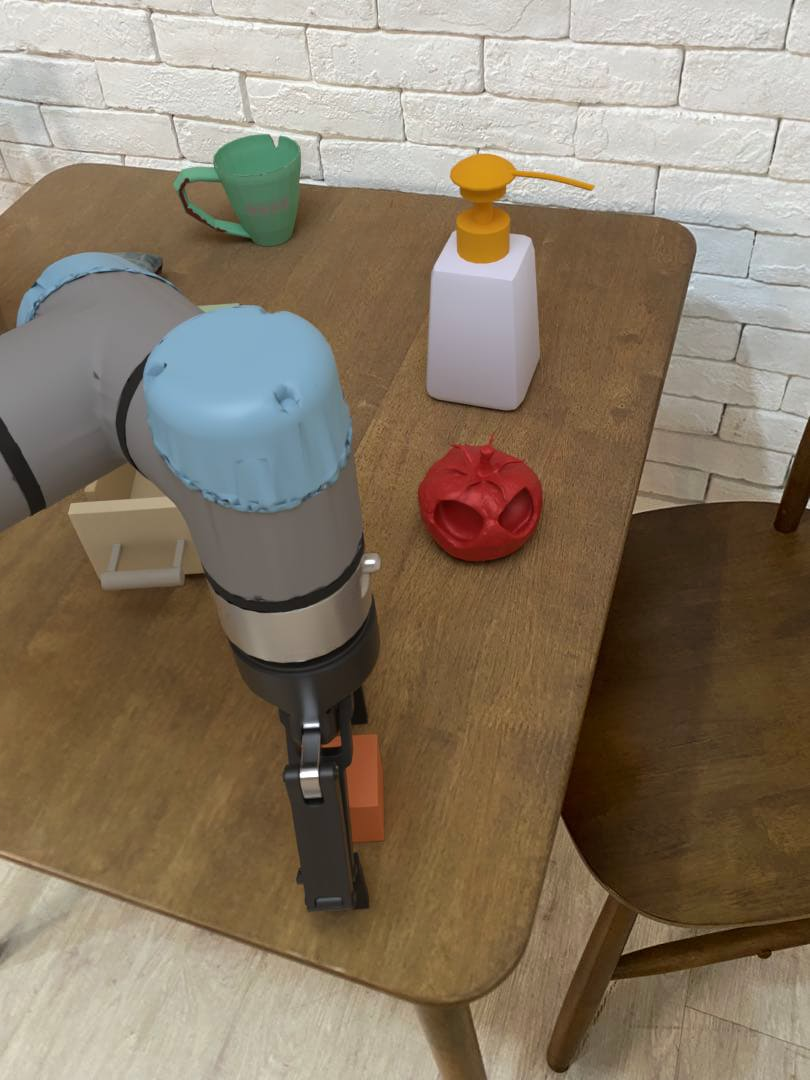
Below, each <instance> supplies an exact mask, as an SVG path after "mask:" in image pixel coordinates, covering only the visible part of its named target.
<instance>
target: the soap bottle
mask: <svg viewBox="0 0 810 1080" xmlns="http://www.w3.org/2000/svg"><path fill="white" fill-rule="evenodd" d="M516 177H518V178H526V179H527V178H528V179H538V180H544V181H545V180H546V181H551V182H555V183H560V184H564V185H568V186H572V187H576V188H579V189H583V190H586V191H590V192H592V191H593V190H594V189H595V187H596V185H595V184H591V183H588V182H584V181H580V180H577V179H574V178H570V177H566V176H562V175H557V174H553V173H545V172H539V171H538V172H537V171H529V170H518V169H517V168H516V167H515V165H514V164H513V163H512V162H511V161H510V160H509V159H506V158H505V157H502V156H501V155H500V156H499V155H497V154H494V153H493V154H492V153H477V154H472V155H470V156H468V157H467V156H466V157H465V158H463V159H461V160H459V161H457V162H456V163H455V165H454V166H452V168H450V173H449V178H450V180H451V182H452V183H453V185H455V186H458V187H459V195H460V196H461V198H462V199H464V200H467V201H468V202H472V203H473V207H470V208H467V209H466V210H464V211H462V212H460V213H459V214H458V216H457V217H456V222H455V226H456V227H455V230H454V231H452V232H451V234H450V236H449V238H448V240H447V241H446V243H445V245H444V247H443V249H442V251H441V252H440V255H439V256H438V258H437V260H436V261H435V264H434V265H433V267H432V270H431V271H430V272H431V273H430V287H429V288H430V289H429V290H430V291H429V312H428V332H427V351H426V371H425V374H426V375H425V387H426V392H427V394H428V396H430V397H432V398H433V399H436V400H439V401H445V402H452V403H457V404H464V405H470V406H475V407H481V408H488V409H494V410H499V411H513V410H515V411H516V409H518V408H519V406H520V405H521V404H522V403H523V401H524V400H525V397H526V395H527V392H528V390H529V387H530V384H531V382H532V379H533V377H534V373H535V372H536V368H537V366H538V363H539V361H540V358H541V344H540V325H539V324H540V323H539V309H538V308H539V307H538V305H539V304H538V288H537V271H536V253H535V247H534V244H533V241H532V238H531V237H529V236H527V235H525V234H518V233H511V217H510V215H509V214H508V211H507V212H506V211H505V210H503V209H501V208H499V207H495V206H494V202H496V201H498V200H500V199H502V198H503V197H504V196H505V195H506V194H507V186H508V185H510V184H511V183H512V182H513V181H514V180H515V179H516Z"/></svg>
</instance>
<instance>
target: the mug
mask: <svg viewBox="0 0 810 1080" xmlns="http://www.w3.org/2000/svg"><path fill="white" fill-rule="evenodd" d="M212 164H213V165H212V166H193V167H192V166H191V167H187V168H182V169H181V170H180V172H179V174H178V176H177V177H176V179H175V180H174V182H173V185H172V186H173V188H174V190H175V192H176V194H177V197H178V199H179V201H180V203H181V206H182V208H183V211H184V213H185V214H187V215H188V216H190V217H191V218H193V219H195V220H196V221H198V222H200V223H201V224H203V225H204V226H205V227H207V228H208V229H210V230H212V231H214V232H215V233H220V234H225V235H231V236H236V237H241V238H246V239H251V240H252V242H253V243H254V244H256V245H258V246H262V247H275V246H279V245H282V244H285V243H286V242H287V241H289V240H290V239H291V237H292V236H293V233H294V228H295V223H296V220H297V214H298V207H299V201H300V182H301V172H302V171H301V170H302V150H301V146H300V145H299V143H298V142H297V141H296V140H294V139H292V138H291V137H288V136H286V135H279V136H278V139H277V146H276V144H275V142H274V139H273V137H272V136H271V135H270V133H259V134H250V135H246V136H243V137H238V138H236V139H234V140H231V141H228V142H226V143H225V144H224V145H222V146H221V147H219V148H218V149H217V150H216V152H215V153H214V154H213V158H212ZM197 182H205V183H219V184H221V186H222V187H223V190H224V192H225V195H226V197H227V199H228V202H229V205H230V206H231V209H232V211H234V213H235V215H236V217H237V219H238V220H239V222H240V223H238V222H232V221H227V220H223V219H217V218H214V217H213V216H211V215H210V214H209V213H207V212H205V210H203V209H201V208H200V207H199V206H197V205H195V203H193V202H191V200H189V198H188V195H187V190H186V186H187V185H189V184H193V183H197Z"/></svg>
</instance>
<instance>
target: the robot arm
mask: <svg viewBox="0 0 810 1080" xmlns="http://www.w3.org/2000/svg"><path fill="white" fill-rule="evenodd" d="M198 306H199V305H197V304H195V303H194V302H193V301H191V300H190V299H189V298H188V297H186V295H185V294H184V292H183V291H181V290H180V289H179V288H178V287H176V286H175V285H174V284H173V283H172V282H171V281H169V280H167V279H165V278H164V277H162V276H161V275H160V276H158V275H156V274H154V273H151V272H149V271H148V270H146V269H145V268H143V267H141V266H137V265H135V264H134V263H132V262H130V261H128V260H126V259H124V258H121V257H119V256H116V255H112V254H110V253H107V252H101V251H91V252H90V251H88V252H87V251H86V252H81V253H76V254H72V255H68V256H66V257H63V258H61V259H58V260H57V261H55V262H54V263H51V264H50V265H49V266H47V267H46V268H45V269H44V270H43V271H42V273H41V275H40V276H39V277H38V278H37V280H36V281H35V282H34V283H33V284H32V285H31V287H30V288H29V289H28V290H27V291H25V293H24V295H23V297H22V299H21V302H20V305H19V307H18V311H17V315H16V327H14V328H12V329H11V330H7V331H6V332H3V333H1V334H0V534H1V533H3V532H5V531H6V530H8V529H10V528H12V527H13V526H15V525H17V524H18V523H20V522H22V521H23V520H25V519H27V518H28V517H29V518H31V517H33V516H34V515H36V514H38V513H39V512H41V511H43V510H47V509H49V508H50V507H52V506H54V505H55V504H57V503H59V502H61V501H63V500H64V499H67V498H68V497H70V496H71V495H73V494H76V493H77V492H79V491H80V490H83V489H85V488H86V486H87V485H89V484H91V483H93V482H95V481H96V480H98V479H100V478H102V477H103V476H105V475H107V474H109V473H110V472H112V471H114V470H115V469H117V468H119V467H121V466H122V465H124V464H126V463H128V462H129V463H130V464H131V465H132V466H133V467H134V468H135V469H136V470H137V471H138V472H140V473H141V474H142V475H143V476H144V477H145V478H147V479H148V480H150V481H151V482H152V483H153V484H154V485H155V486H156V487H157V488H158V489H160V490H161V491H162V492H163V493H164V494H165V495H166V496H167V497H168V498H169V499H170V500H171V501H172V502H173V503H174V504H175V505H176V507H177V508H178V509H179V511H180V512H181V514H182V516H183V518H184V519H185V521H186V523H187V526H188V529H189V531H190V534H191V537H192V539H193V542H194V544H195V547H196V550H197V552H198V555H199V558H200V560H201V565H202V567H203V570H204V573H203V574H204V577H205V580H206V584H207V586H208V590H209V592H210V595H211V598H212V601H213V604H214V607H215V609H216V613H217V616H218V619H219V622H220V625H221V627H222V629H223V631H224V633H225V635H226V638H227V641H228V644H229V646H230V649H231V653H232V655H233V658H234V661H235V664H236V666H237V669H238V672H239V675H240V677H241V678H242V681H243V682H244V684H245V686H247V687H248V689H249V690H250V691H251V692H252V693H254V694H255V695H256V696H257V697H258V698H259V699H260V700H263V701H265V702H266V703H268V704H270V705H272V706H273V707H276V708H278V716H279V721H280V723H281V724H282V726H284V729H285V730H284V731H285V739H286V740H285V741H286V748H287V749H286V750H287V759H288V764H285V766H284V768H283V772H282V782H283V783H284V786H285V789H286V794H287V796H288V797H287V798H288V800H289V803H290V808H291V813H292V815H291V816H292V820H293V821H292V822H293V827H294V834H295V840H296V846H297V852H298V859H299V865H300V866H299V867H298V869H297V872H296V878H295V882H296V885H298V886H299V885H302V886H303V891H304V892H303V893H304V906H306V911H307V913H319V912H321V913H323V912H336V911H353V910H364V909H370V894H369V890H368V887H367V883H366V879H365V875H364V871H363V867H362V863H361V860H360V859H361V858H360V855H359V852H358V851H354V842H353V840H352V829H351V818H350V807H349V796H348V785H347V774H346V768H347V767H348V766H350V764H351V763H352V757H353V751H354V750H353V738H352V735H353V728H352V725H365V724H368V723H369V722H368V719H369V717H368V710H367V709H368V708H367V703H366V699H365V693H364V688H363V685H364V683H365V682H366V681H367V679H368V678H369V677H370V675H371V674H372V672H373V671H374V668H375V667H376V664H377V662H378V660H379V659H378V658H379V655H380V650H381V633H380V627H379V621H378V614H377V607H376V600H375V597H374V594H373V588H372V587H373V586H372V582H371V575H375V574H376V573H379V572H380V571H381V569H382V567H383V562H382V557H381V556H380V554H378V553H377V552H369V553H366V542H365V535H364V534H365V533H364V522H363V521H364V520H363V513H362V507H361V499H360V491H359V483H358V475H357V467H356V460H355V451H354V444H353V435H354V429H353V419H352V418H351V413H350V406H349V404H348V403H346V401H345V392H344V390H343V389H342V385H341V382H340V376H339V372H338V367H337V361H336V358H335V355H334V352H333V349H332V347H331V345H330V343H329V342H328V340H327V339H326V337H325V336H324V335H323V334H322V332H321V331H320V330H319V328H317V327H316V326H315V325H314V324H313V323H311V322H310V321H309V320H307V319H305V318H303V317H302V316H300V315H298V314H296V313H293V312H291V311H287V310H280V311H275V312H268V311H266V310H265V309H264V308H263V307H262V306H261V305H253V304H252V305H251V304H243V305H242V304H240V306H231V307H225V308H219V309H216V310H213V311H210V312H207V313H205V312H204V311H203V310H201V309H200V308H199V307H198ZM339 734H340V735H339ZM336 736H341V746H339V747H324V748H323V745H326V744H328V743H330V742H331V741H332V740H333V739H334V738H335V737H336ZM301 746H302V747H301Z"/></svg>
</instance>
